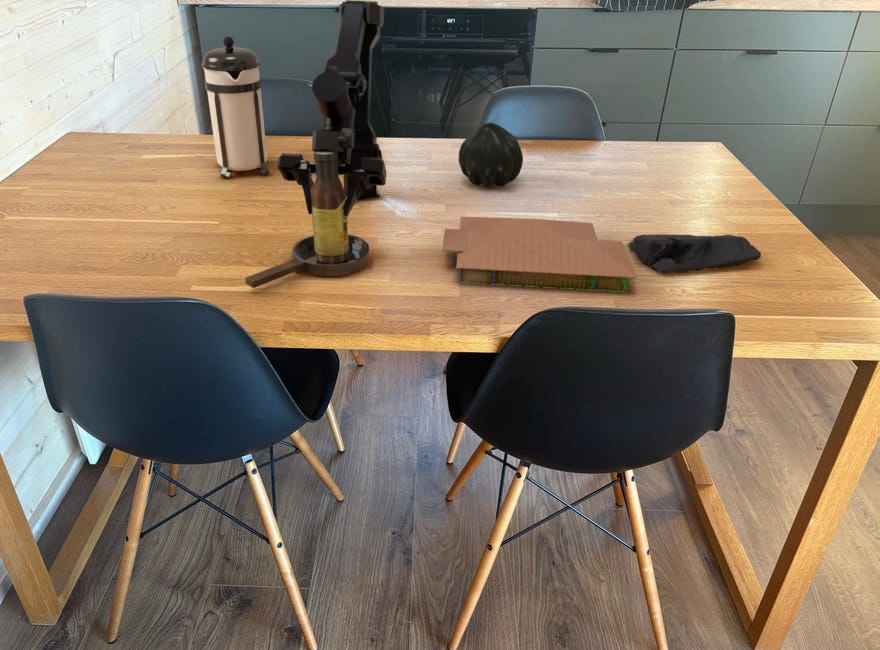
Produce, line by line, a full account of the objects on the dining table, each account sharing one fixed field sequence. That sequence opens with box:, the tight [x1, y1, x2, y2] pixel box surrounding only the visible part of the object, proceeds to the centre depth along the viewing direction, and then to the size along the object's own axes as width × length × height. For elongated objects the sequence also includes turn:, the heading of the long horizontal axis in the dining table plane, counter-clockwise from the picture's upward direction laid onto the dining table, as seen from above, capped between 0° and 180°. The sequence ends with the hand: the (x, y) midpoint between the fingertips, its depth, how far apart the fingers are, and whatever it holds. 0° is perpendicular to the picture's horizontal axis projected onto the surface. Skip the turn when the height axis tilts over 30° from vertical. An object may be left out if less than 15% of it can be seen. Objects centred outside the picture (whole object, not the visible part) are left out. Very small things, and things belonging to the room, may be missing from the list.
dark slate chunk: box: [628, 233, 762, 274], centre depth 131 cm, size 15×22×5 cm
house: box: [441, 216, 637, 293], centre depth 128 cm, size 23×33×8 cm
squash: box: [458, 122, 524, 188], centre depth 162 cm, size 14×15×15 cm
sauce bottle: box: [311, 150, 349, 264], centre depth 123 cm, size 6×6×20 cm
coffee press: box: [201, 36, 270, 179], centre depth 164 cm, size 17×16×30 cm
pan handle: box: [244, 258, 306, 289], centre depth 121 cm, size 11×3×2 cm, turn 135°
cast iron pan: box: [291, 233, 371, 277], centre depth 128 cm, size 14×14×2 cm
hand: (327, 214), depth 123 cm, fingers closed on sauce bottle, 6 cm apart
